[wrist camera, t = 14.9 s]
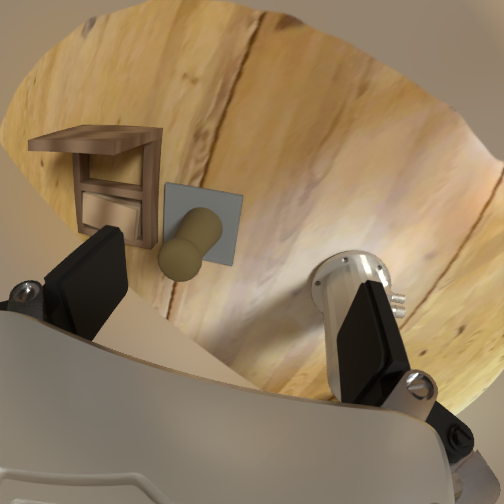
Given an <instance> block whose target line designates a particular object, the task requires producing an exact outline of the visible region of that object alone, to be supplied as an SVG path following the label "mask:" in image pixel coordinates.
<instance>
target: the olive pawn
mask: <svg viewBox="0 0 504 504" xmlns="http://www.w3.org/2000/svg"><path fill="white" fill-rule="evenodd" d="M222 232H223V226H222V222H221V220H220V218H219V217H218V215H217V214H216V213H214V212H213V211H212V210H210V209H207V208H203V207H198V208H193V209H191V210H190V211H188V212H187V214H186V215H185V216H184V218H183V220H182V222H181V224H180V226H179V228H178V230H177V232H176V234H175V236H174V238H173V239H171V240H169V241H167V242H166V243H165V244H164V245H163V246H162V247H161V249H160V251H159V255H158V264H159V267H160V269H161V271H162V272H163V274H164V275H165V276H167V277H168V278H169V279H171V280H173V281H178V282H183V281H188V280H190V279H192V278H193V277H195V276H196V275H197V274H198V272H199V270H200V268H201V265H202V258H203V257H204V256H205V255H206V253H207V252H208V251H209V250H210V249H211V248H212V247H213V246H214V245H215V244H216V242H217V241H218V240H219V239H220V237H221V235H222Z"/></svg>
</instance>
